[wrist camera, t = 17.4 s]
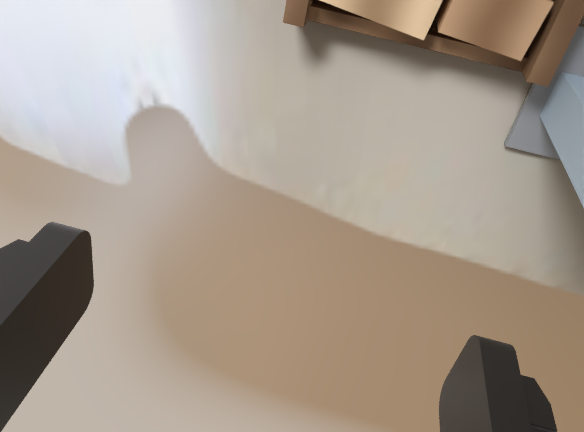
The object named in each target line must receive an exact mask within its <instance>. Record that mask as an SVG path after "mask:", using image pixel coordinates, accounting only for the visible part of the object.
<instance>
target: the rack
mask: <svg viewBox="0 0 584 432" xmlns="http://www.w3.org/2000/svg"><path fill="white" fill-rule="evenodd" d="M552 1H553V2H554V3H553V5H552V7H551V9H550V11H549V12H548V14H547V16H546V18H545V19H544V21H543V23H542V25H541V26H540V28H539V30H538V32H537V34H536V35H535V37H534V39H533V41H532V42H531V44H530V46H529V48H528V49H527V51H526V53H525V55H524V57H523V58H522V60H521V61H519V60H516V59H513V58H511V57H508V56H505V55H502V54H499V53H496V52H494V51H491V50H488V49H485V48H482V47H479V46H476V45H474V44H471V43H468V42H465V41H462V40H459V39H457V38H454V37H451V36H448V35H445V34H442V33H440V32H438V29H434V28H429V30H428V32H427V35H426V37H425V39H424V40H421V39H419V38H416V37H413V36H411V35H408V34H406V33H403V32H401V31H398V30H395V29H393V28H390V27H388V26H385V25H382V24H380V23H377V22H375V21H372V20H370V19H367V18H364V17H362V16H359V15H357V14H354V13H351V12H349V11H346V10H344V9H341V8H338V7H336V6H333V5H331V4H328V3H326V2H322V1H318V0H287V1H286V7H285V13H284V19H283V23H287V24H292V25H296V26H300V27H304V26H305V24H306V22H307V21H308V20H310V21H314V22H318V23H323V24H327V25H331V26H335V27H339V28H343V29H347V30H351V31H356V32H360V33H364V34H368V35H372V36H376V37H380V38H384V39H389V40H393V41H397V42H401V43H405V44H409V45H413V46H417V47H422V48H426V49H430V50H434V51H438V52H442V53H446V54H450V55H454V56H459V57H463V58H467V59H471V60H475V61H479V62H483V63H487V64H492V65H496V66H500V67H504V68H508V69H512V70H516V71H520V72H522V73H523V75H524V77H525V79H526V81H527V82H530V83H534V84H538V85H542V86H546V87H548V86H549V84H550V82H551V80H552V78H553V76H554V74H555V72H556V70H557V68H558V66H559V64H560V62H561V60H562V58H563V56H564V54H565V52H566V50H567V48H568V46H569V44H570V42H571V40H572V38H573V36H574V34H575V32H576V30H577V28H578V26H579V24H580V22H581V20H582V18H583V16H584V0H552Z"/></svg>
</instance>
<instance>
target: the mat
mask: <svg viewBox="0 0 584 432" xmlns="http://www.w3.org/2000/svg"><path fill="white" fill-rule="evenodd" d="M561 72H564V73H568V74H573V75H577V76H581V77H584V26H580V25H579V26H578V28H577V30H576V32H575V34H574V36H573V38H572V40H571V42H570V44H569V46H568V48H567V50H566V52H565V54H564V56H563V58H562V60H561V62H560V64H559V66H558V68H557V70H556V72H555V74H554V76H553V78H552V80H551V82H550V84H549V86H548V87H546V86H542V85H538V84H534V83H533V84H532V86H531V88H530V90H529V92H528V94H527V96H526V98H525V101H524V103H523V105H522V107H521V109H520V111H519V113H518V115H517V117H516V119H515V121H514V124H513V126H512V128H511V130H510V132H509V134H508V136H507V138H506V140H505V142H504V144H505V146H506V147H510V148H514V149H518V150H522V151H526V152H530V153H534V154H538V155H542V156H546V157H550V158H554V159H558V160H561V159H560V157H559V155H558V153H557V151H556V149H555V147H554V145H553V143H552V141H551V138H550V136H549V134H548V132H547V130H546V128H545V126H544V124H543V122H542V120H541V118H540V114H541V112H542V110H543V108H544V106H545V104H546V102H547V100H548V98H549V96H550V94H551V92H552V90H553V88H554V86H555V84H556V82H557V80H558V78H559V76H560V74H561Z"/></svg>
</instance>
